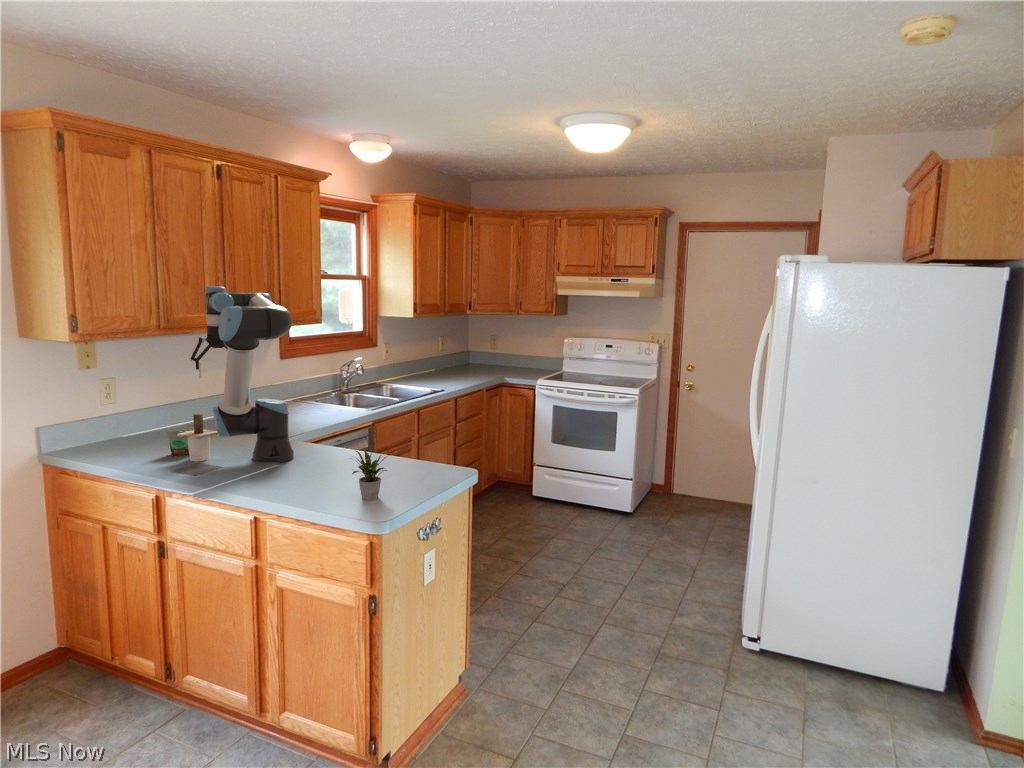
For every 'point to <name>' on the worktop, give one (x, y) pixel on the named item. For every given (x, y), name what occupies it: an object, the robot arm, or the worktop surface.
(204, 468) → the mat
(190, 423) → the worktop surface
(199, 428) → the lid
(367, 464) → the house plant
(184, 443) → the food container
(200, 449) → the white cup
